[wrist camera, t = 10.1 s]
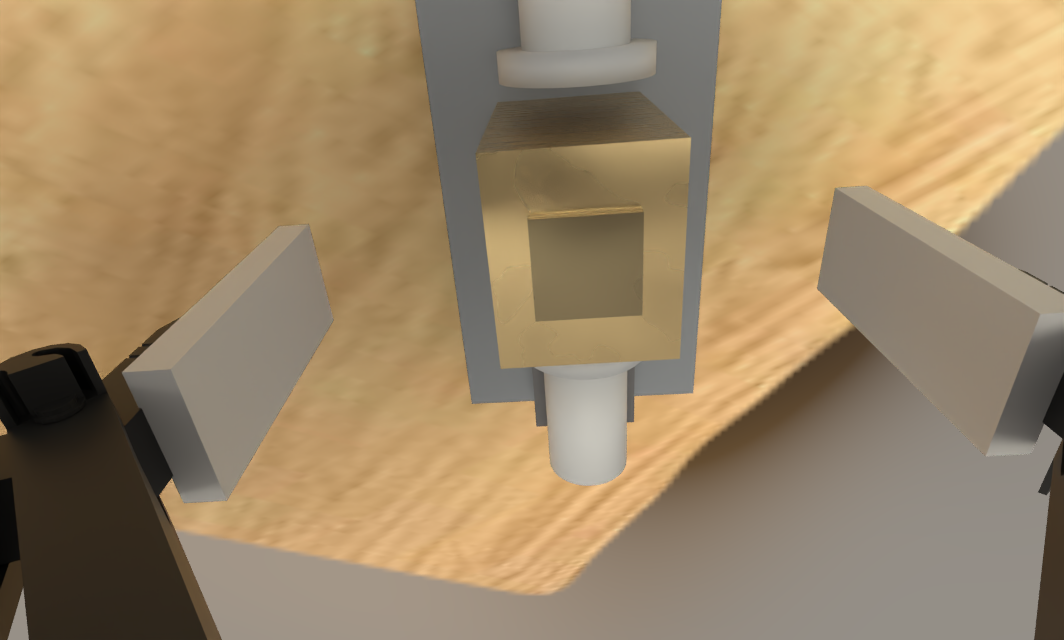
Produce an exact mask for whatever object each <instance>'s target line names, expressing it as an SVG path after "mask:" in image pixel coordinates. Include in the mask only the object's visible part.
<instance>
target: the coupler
mask: <svg viewBox="0 0 1064 640" xmlns="http://www.w3.org/2000/svg"><path fill="white" fill-rule="evenodd" d="M690 149H691V137H690V136H689V135H688V134H687V133H685V132H684V131H683V130H682V129H681V128H680V127H679V126H678V125H677V124H675V123H674V122H673V121H672V120H671V119H670V118H669V117H668V116H667V115H665V114H664V113H663V112H662V111H661V110H660V109H659V108H658V107H657V106H655V105H654V104H653V103H652V102H651V101H650V100H649V99H648V98H647V97H645V96H644V95H643V94H642V93H641V92H640V91H638V92H625V93H612V94H599V95H586V96H573V97H560V98H547V99H534V100H521V101H508V102H497V104H496V106H495V109H494V111H493V113H492V116H491V118H490V120H489V123H488V125H487V127H486V130H485V132H484V134H483V137H482V139H481V141H480V144H479V146H478V148H477V151H476V153H475V154H476V163H477V171H478V180H479V188H480V197H481V205H482V214H483V222H484V231H485V239H486V248H487V257H488V265H489V274H490V282H491V291H492V299H493V308H494V316H495V325H496V333H497V342H498V350H499V359H500V367H501V369H507V368H525V367H543V366H561V365H579V364H597V363H615V362H632V361H650V360H668V359H680V346H681V326H682V307H683V287H684V267H685V248H686V228H687V208H688V189H689V169H690Z"/></svg>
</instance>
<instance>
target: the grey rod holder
mask: <svg viewBox="0 0 1064 640" xmlns="http://www.w3.org/2000/svg"><path fill="white" fill-rule="evenodd" d="M415 3H416V10H417V17H418V24H419V31H420V38H421V46H422V53H423V60H424V67H425V74H426V81H427V88H428V95H429V102H430V109H431V116H432V123H433V131H434V138H435V145H436V152H437V159H438V166H439V173H440V180H441V187H442V194H443V201H444V208H445V216H446V223H447V230H448V237H449V244H450V251H451V258H452V265H453V272H454V279H455V286H456V293H457V300H458V308H459V315H460V322H461V329H462V336H463V343H464V350H465V357H466V364H467V371H468V378H469V385H470V393H471V400H472V404H476V403H497V402H518V401H535V412H536V425H537V426H548V440H549V454H550V464H551V467H552V469H553V470H554V472H555V473H556V474H557V475H558V476H559V477H561V478H562V479H564V480H566V481H568V482H570V483H573V484H578V485H585V486H591V485H599V484H603V483H606V482H609V481H611V480H613V479H615V478H616V477H617V476H619V475H620V474H621V473H622V471H623V470H624V468H625V465H626V459H627V422H634V396H643V395H664V394H685V393H693V386H694V373H695V359H696V345H697V332H698V318H699V304H700V291H701V277H702V263H703V250H704V236H705V222H706V208H707V195H708V181H709V167H710V154H711V140H712V126H713V113H714V99H715V85H716V72H717V58H718V44H719V31H720V17H721V3H722V0H415ZM638 91H640V92H641V93H642V94H643V95H644V96H645V97H647V98H648V99H649V100H650V101H651V102H652V103H653V104H654V105H655V106H657V107H658V108H659V109H660V110H661V111H662V112H663V113H664V114H665V115H667V116H668V117H669V118H670V119H671V120H672V121H673V122H674V123H675V124H677V125H678V126H679V127H680V128H681V129H682V130H683V131H684V132H685V133H687V134H688V135H689V136H690V137H691V149H690V169H689V189H688V208H687V228H686V248H685V267H684V287H683V307H682V326H681V346H680V359H668V360H650V361H632V362H615V363H597V364H579V365H561V366H543V367H525V368H507V369H501V367H500V359H499V350H498V342H497V333H496V325H495V316H494V308H493V299H492V291H491V282H490V274H489V265H488V257H487V248H486V239H485V231H484V222H483V214H482V205H481V197H480V188H479V180H478V171H477V163H476V154H475V153H476V151H477V148H478V146H479V144H480V141H481V139H482V137H483V134H484V132H485V130H486V127H487V125H488V123H489V120H490V118H491V116H492V113H493V111H494V109H495V106H496V104H497V102H508V101H521V100H534V99H547V98H560V97H573V96H586V95H599V94H612V93H625V92H638Z"/></svg>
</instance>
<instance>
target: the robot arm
mask: <svg viewBox="0 0 1064 640" xmlns="http://www.w3.org/2000/svg"><path fill="white" fill-rule="evenodd" d="M817 289H818V290H819V291H820V292H821V293H822V294H823V295H824V296H825V297H826V298H827V299H828V300H829V301H830V302H831V303H832V304H833V305H834V306H835V307H836V308H837V309H838V310H839V311H840V312H841V313H842V314H843V315H844V316H845V317H846V318H847V319H848V320H849V321H850V322H851V323H852V324H853V325H854V326H855V327H856V328H857V329H858V330H859V331H860V332H861V333H862V334H863V335H864V336H865V337H866V338H867V339H868V340H869V341H870V342H871V343H872V344H873V345H874V346H875V347H876V348H877V349H878V350H879V351H880V352H881V353H882V354H883V355H884V356H885V357H886V358H887V359H888V360H889V361H890V362H891V363H892V364H893V365H894V366H895V367H896V368H897V369H898V370H899V371H900V372H901V373H902V374H903V375H904V376H905V377H906V378H907V379H908V380H909V381H910V382H911V383H912V384H913V385H914V386H915V387H916V388H918V390H919V391H920V392H921V393H922V394H923V395H924V396H925V397H926V398H927V399H928V400H929V401H930V402H931V403H932V404H933V405H934V406H935V407H936V408H937V409H938V410H939V411H940V412H941V413H942V414H943V415H944V416H945V417H946V418H948V420H950V421H951V422H952V424H954V425H955V426H956V427H957V429H958V430H960V432H961V433H962V434H963V435H964V436H965V437H967V439H968V440H970V441H971V442H972V443H973V444H974V445H975V446H976V447H977V448H978V449H979V450H980V451H981V452H982V453H983V454H984V455H985V456H1000V455H1018V454H1031V452H1032V450H1033V448H1034V446H1035V443H1036V441H1037V439H1038V437H1039V434H1040V432H1041V430H1042V427H1043V425H1044V424H1045V425H1047V426H1048V427H1049V428H1050V429H1051V430H1053V431H1054V432H1055V433H1056V434H1057V435H1059V436H1060V437H1061V438H1062V442H1061V444H1060V446H1059V448H1058V450H1057V453H1056V454H1055V457H1054V459H1053V461H1052V463H1051V465H1050V468H1049V470H1048V472H1047V474H1046V476H1045V478H1044V481H1043V483H1042V485H1041V487H1040V490H1039V491H1038V492H1039V493H1042V494H1045V495H1047V494H1048V492H1049V491H1050V499H1049V508H1048V518H1047V527H1046V536H1045V545H1044V554H1043V564H1042V573H1041V582H1040V591H1039V600H1038V610H1037V619H1036V628H1035V629H1036V630H1035V638H1034V640H1064V292H1062V291H1060V290H1058V289H1057V288H1055V287H1053V286H1048V285H1047V283H1046V282H1044V281H1042V280H1040V279H1038V278H1036V277H1035V276H1033V275H1031V274H1029V273H1027V272H1025V271H1022V270H1019V269H1017V268H1015V267H1013V266H1011V265H1009V264H1007V263H1006V262H1004V261H1002V260H1000V259H999V258H997V257H995V256H993V255H991V254H989V253H988V252H986V251H984V250H982V249H980V248H978V247H977V246H975V245H973V244H971V243H969V242H968V241H966V240H964V239H962V238H960V237H959V236H957V235H955V234H953V233H951V232H950V231H948V230H946V229H944V228H942V227H940V226H939V225H937V224H935V223H933V222H931V221H930V220H928V219H926V218H924V217H922V216H920V215H919V214H917V213H915V212H913V211H911V210H910V209H908V208H906V207H904V206H902V205H901V204H899V203H897V202H895V201H893V200H891V199H890V198H888V197H886V196H884V195H882V194H881V193H879V192H877V191H875V190H873V189H872V188H870V187H868V186H856V187H841V188H835V192H834V197H833V203H832V208H831V214H830V220H829V225H828V231H827V236H826V242H825V248H824V253H823V259H822V264H821V270H820V275H819V281H818V287H817ZM333 320H334V319H333V316H332V312H331V308H330V304H329V300H328V296H327V292H326V288H325V285H324V281H323V277H322V273H321V269H320V265H319V261H318V258H317V254H316V250H315V246H314V242H313V238H312V234H311V231H310V227H309V224H304V225H289V226H278V227H277V228H276V229H275V230H274V231H273V232H272V233H271V234H270V235H269V236H268V237H267V238H266V239H265V240H263V241H262V242H261V243H260V244H259V245H258V246H257V247H256V248H255V249H254V250H253V251H252V252H251V253H249V254H248V255H247V256H246V257H245V258H244V259H243V260H242V261H241V262H240V263H239V264H238V265H237V266H236V267H234V268H233V269H232V270H231V271H230V272H229V273H228V274H227V275H226V276H225V277H224V278H223V279H222V280H220V281H219V282H218V283H217V284H216V285H215V286H214V287H213V288H212V289H211V290H210V291H209V292H208V293H207V294H205V295H204V296H203V297H202V298H201V299H200V300H199V301H198V302H197V303H196V304H195V305H194V306H193V307H191V308H190V309H189V310H188V311H187V312H186V313H185V314H184V315H183V316H182V317H180V318H178V319H177V320H175V321H173V322H171V323H169V324H167V325H166V326H164V327H162V328H160V329H158V330H157V331H156V332H155V333H154V334H153V335H151V336H150V337H149V338H148V339H147V340H146V341H145V342H144V343H143V344H142V347H138V348H137V349H136V350H135V351H134V352H133V353H132V354H130V355H129V358H126V359H125V360H124V361H123V362H122V363H120V364H119V365H118V366H117V367H116V368H115V369H114V370H113V371H112V372H111V373H109V374H108V375H107V376H106V377H105V378H104V379H103V380H101V378H100V376H99V374H98V372H97V370H96V368H95V366H94V364H93V362H92V360H91V358H90V356H89V354H88V352H87V350H86V349H85V348H84V347H83V346H81V345H80V344H70V343H66V344H57V345H50V346H46V347H42V348H38V349H34V350H31V351H28V352H25V353H23V354H20V355H17V356H15V357H12V358H10V359H8V360H6V361H4V362H3V363H1V364H0V419H1V421H2V423H3V424H4V426H5V427H6V429H7V434H6V435H2V436H0V640H7V639H8V636H9V632H10V629H11V626H12V622H13V619H14V616H15V612H16V609H17V606H18V602H19V599H20V596H21V592H22V589H23V588H24V597H25V607H26V616H27V626H28V635H29V640H222V639H221V637H220V634H219V632H218V630H217V627H216V625H215V623H214V620H213V618H212V616H211V613H210V611H209V609H208V606H207V604H206V602H205V599H204V597H203V594H202V592H201V590H200V587H199V585H198V583H197V580H196V578H195V576H194V574H193V571H192V569H191V566H190V564H189V562H188V559H187V557H186V555H185V553H184V550H183V548H182V545H181V543H180V541H179V538H178V536H177V534H176V531H175V529H174V527H173V524H172V522H171V519H170V517H169V515H168V512H167V510H166V508H165V506H164V504H163V502H162V500H161V498H160V496H159V495H160V493H161V492H162V490H163V489H164V488H165V486H166V485H167V484H168V482H169V481H170V480H171V478H172V479H173V481H174V483H175V485H176V487H177V490H178V492H179V494H180V496H181V498H182V500H183V502H184V503H196V502H213V501H227V500H228V498H229V496H230V495H231V493H232V491H233V490H234V488H235V486H236V484H237V483H238V481H239V479H240V478H241V476H242V474H243V473H244V471H245V469H246V468H247V466H248V464H249V462H250V461H251V459H252V457H253V456H254V454H255V452H256V451H257V449H258V447H259V446H260V444H261V442H262V440H263V439H264V437H265V435H266V434H267V432H268V430H269V429H270V427H271V425H272V424H273V422H274V420H275V419H276V417H277V415H278V413H279V412H280V410H281V408H282V407H283V405H284V403H285V402H286V400H287V398H288V397H289V395H290V393H291V391H292V390H293V388H294V386H295V385H296V383H297V381H298V380H299V378H300V376H301V375H302V373H303V371H304V369H305V368H306V366H307V364H308V363H309V361H310V359H311V358H312V356H313V354H314V353H315V351H316V349H317V348H318V346H319V344H320V342H321V341H322V339H323V337H324V336H325V334H326V332H327V331H328V329H329V327H330V326H331V324H332V322H333Z"/></svg>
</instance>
